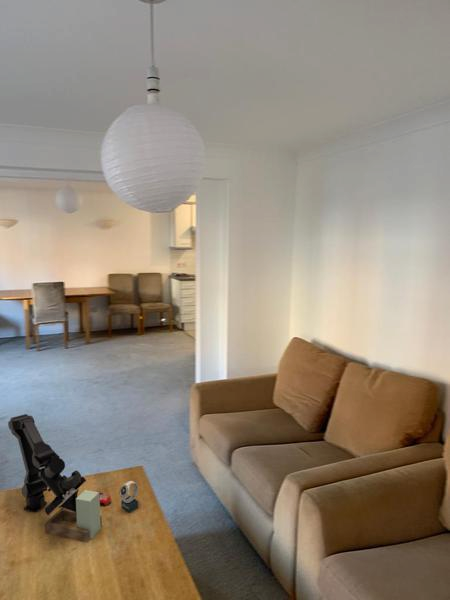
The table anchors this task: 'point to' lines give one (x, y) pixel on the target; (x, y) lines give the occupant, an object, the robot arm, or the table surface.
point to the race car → (104, 499)
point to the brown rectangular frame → (63, 530)
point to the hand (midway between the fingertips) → (80, 512)
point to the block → (88, 512)
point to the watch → (129, 502)
